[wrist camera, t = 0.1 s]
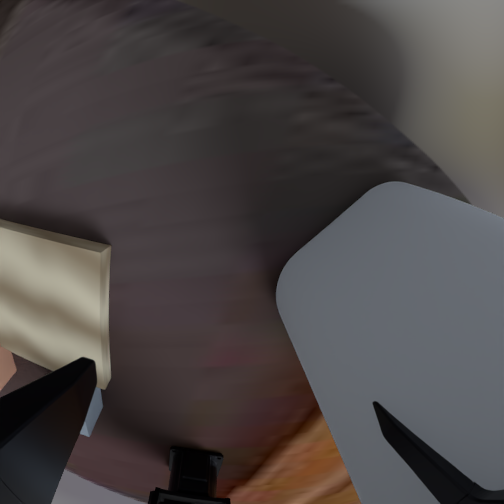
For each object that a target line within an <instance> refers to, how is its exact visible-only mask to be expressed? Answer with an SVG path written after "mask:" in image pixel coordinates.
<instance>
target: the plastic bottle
mask: <svg viewBox="0 0 504 504" xmlns="http://www.w3.org/2000/svg"><path fill="white" fill-rule="evenodd" d="M276 303H277V308H278V311H279V314H280V316H281V319H282V321H283V323H284V325H285V328H286V330H287V332H288V335H289V337H290V339H291V342H292V344H293V346H294V349H295V351H296V353H297V355H298V358H299V360H300V362H301V365H302V367H303V369H304V372H305V374H306V376H307V379H308V381H309V383H310V386H311V388H312V390H313V392H314V395H315V397H316V399H317V402H318V404H319V406H320V409H321V411H322V413H323V416H324V418H325V420H326V422H327V425H328V427H329V429H330V432H331V434H332V436H333V439H334V441H335V443H336V446H337V448H338V450H339V453H340V455H341V457H342V459H343V462H344V464H345V466H346V469H347V471H348V473H349V476H350V478H351V480H352V483H353V485H354V487H355V490H356V492H357V494H358V497H359V499H360V501H361V503H362V504H440V503H439V502H438V501H437V499H436V498H435V497H434V496H433V495H432V493H431V492H430V491H429V490H428V489H427V487H426V486H425V485H424V484H423V483H422V481H421V480H420V479H419V478H418V477H417V475H416V474H415V473H414V472H413V471H412V469H411V468H410V467H409V466H408V465H407V463H406V462H405V461H404V460H403V459H402V458H401V457H400V456H399V454H398V453H397V452H396V451H395V450H394V449H393V448H392V446H391V445H390V444H389V443H388V442H387V441H386V439H385V438H384V437H383V434H382V432H381V429H380V425H379V422H378V419H377V416H376V413H375V410H374V407H373V404H372V402H374V401H377V402H378V403H379V404H381V405H382V406H383V407H384V408H385V409H386V410H387V411H388V412H389V413H391V414H392V415H393V416H394V417H395V418H396V419H398V420H399V421H400V422H401V423H402V424H403V425H405V426H406V427H407V428H408V429H409V430H410V431H412V432H413V433H414V434H415V435H416V436H418V437H419V438H420V439H421V440H423V441H424V442H425V443H426V444H427V445H429V446H430V447H431V448H432V449H434V450H435V451H436V452H437V453H439V454H440V455H441V456H442V457H444V458H445V459H446V460H447V461H449V462H450V463H451V464H452V465H454V466H455V467H456V468H457V469H458V470H459V471H461V472H462V473H463V474H464V475H466V476H467V477H468V478H470V479H471V480H472V481H473V482H476V483H477V484H478V485H480V486H481V487H482V488H484V489H486V490H491V491H497V490H504V218H502V217H500V216H497V215H495V214H493V213H490V212H488V211H485V210H483V209H480V208H478V207H475V206H473V205H470V204H467V203H465V202H462V201H459V200H457V199H454V198H451V197H448V196H445V195H442V194H440V193H437V192H434V191H431V190H428V189H424V188H421V187H418V186H415V185H412V184H409V183H405V182H387V183H383V184H380V185H378V186H376V187H374V188H372V189H370V190H369V191H368V192H366V193H365V194H364V195H363V196H362V197H361V198H359V199H358V200H357V201H356V202H355V203H354V204H353V205H351V206H350V207H349V208H348V209H347V210H346V211H344V212H343V213H342V214H341V215H340V216H339V217H338V218H336V219H335V220H334V221H333V222H332V223H331V224H329V225H328V226H327V227H326V228H325V229H323V230H322V231H321V232H320V233H319V234H318V235H316V236H315V237H314V238H313V239H312V240H310V241H309V242H308V243H307V244H306V245H305V246H303V247H302V248H301V249H300V250H299V251H297V252H296V253H295V254H294V255H293V256H292V257H291V258H290V259H289V261H288V262H287V263H286V265H285V266H284V268H283V270H282V272H281V274H280V277H279V280H278V283H277V288H276Z"/></svg>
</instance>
